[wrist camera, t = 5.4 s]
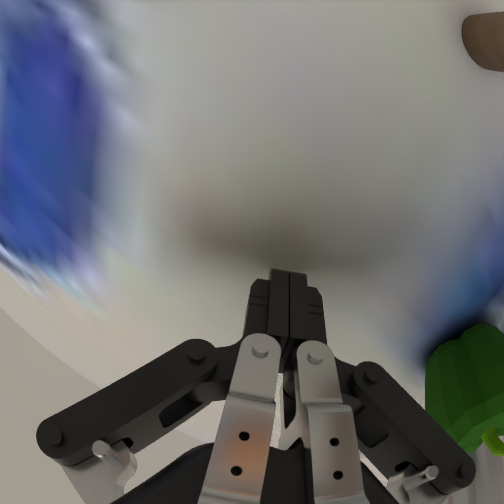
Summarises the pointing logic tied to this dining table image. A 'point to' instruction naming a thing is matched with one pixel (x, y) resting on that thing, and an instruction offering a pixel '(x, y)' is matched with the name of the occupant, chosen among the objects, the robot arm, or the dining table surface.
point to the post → (485, 39)
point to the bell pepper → (469, 388)
